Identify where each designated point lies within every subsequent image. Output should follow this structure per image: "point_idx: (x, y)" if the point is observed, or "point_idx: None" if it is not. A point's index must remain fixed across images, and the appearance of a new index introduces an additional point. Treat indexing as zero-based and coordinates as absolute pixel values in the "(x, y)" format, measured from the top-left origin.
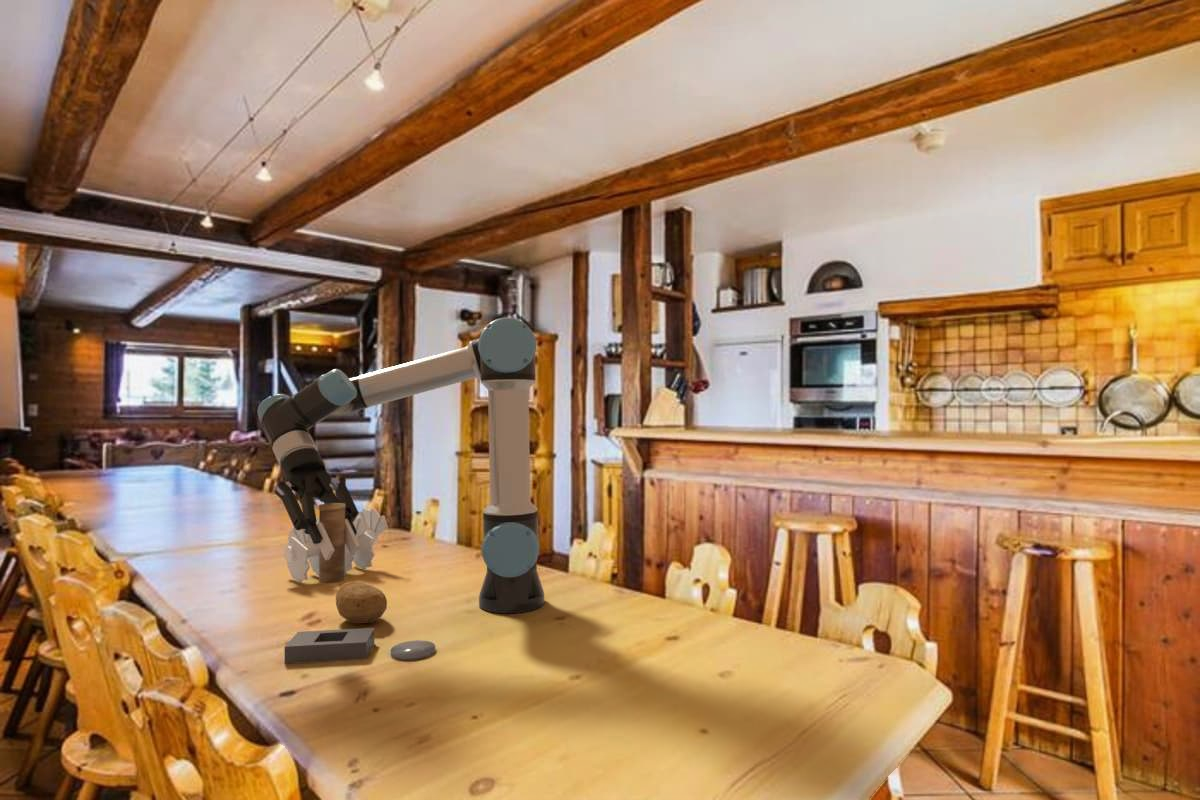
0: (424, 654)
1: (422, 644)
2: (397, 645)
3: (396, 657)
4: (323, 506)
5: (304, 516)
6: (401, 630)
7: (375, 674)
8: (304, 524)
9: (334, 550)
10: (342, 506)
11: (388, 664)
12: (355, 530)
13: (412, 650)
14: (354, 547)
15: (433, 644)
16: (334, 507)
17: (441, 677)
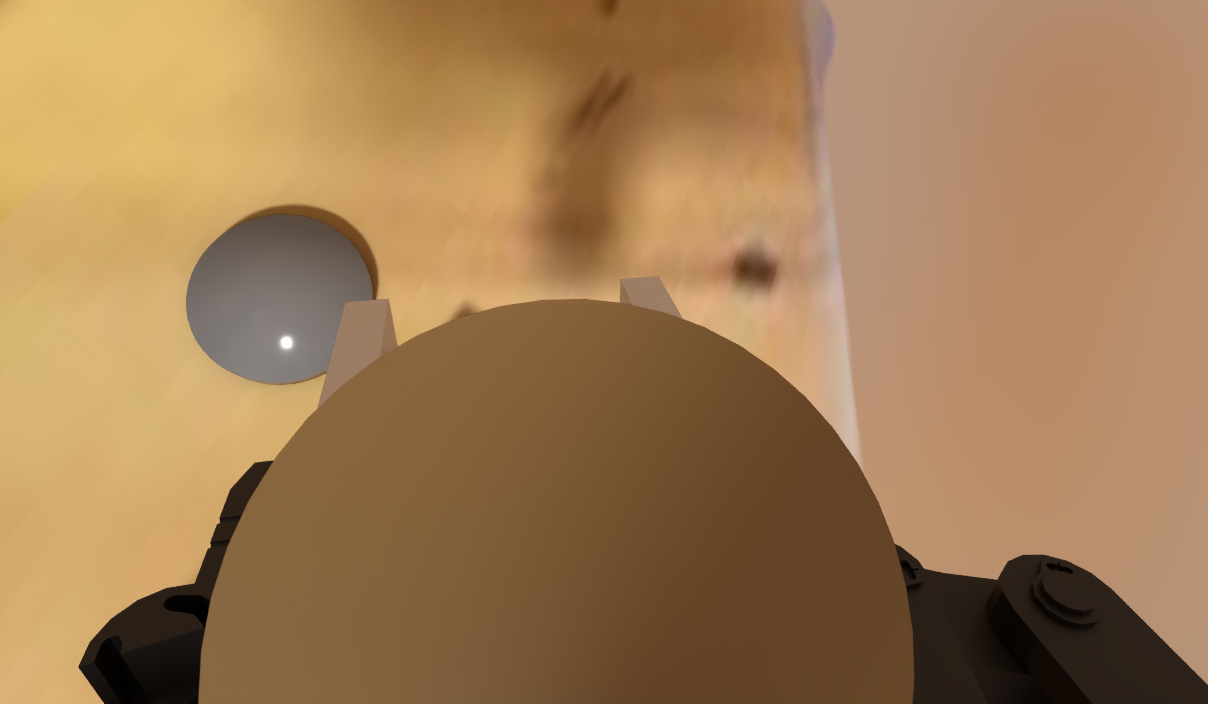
0: (286, 215)
1: (228, 302)
2: (308, 365)
3: (371, 278)
4: (858, 478)
5: (1057, 653)
6: (148, 594)
7: (496, 213)
8: (972, 583)
9: (622, 280)
10: (430, 336)
11: (419, 259)
12: (243, 493)
13: (298, 272)
14: (394, 340)
15: (197, 271)
16: (640, 320)
17: (355, 44)
